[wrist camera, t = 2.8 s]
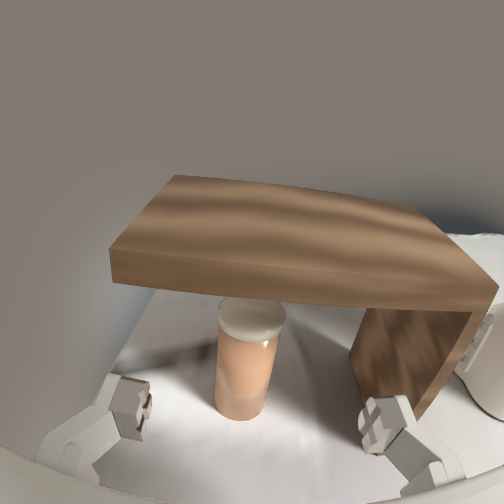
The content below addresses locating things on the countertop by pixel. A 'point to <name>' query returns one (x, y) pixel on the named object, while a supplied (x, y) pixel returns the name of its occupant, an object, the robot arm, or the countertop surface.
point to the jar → (246, 354)
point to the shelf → (319, 270)
